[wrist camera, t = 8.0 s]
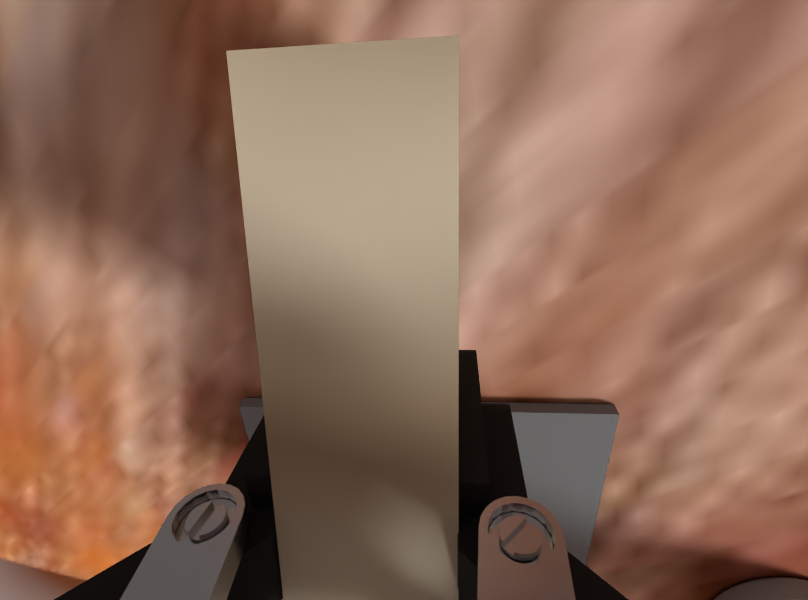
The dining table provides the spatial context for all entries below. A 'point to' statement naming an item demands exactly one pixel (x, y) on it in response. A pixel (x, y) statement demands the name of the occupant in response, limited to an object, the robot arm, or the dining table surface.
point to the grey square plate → (547, 459)
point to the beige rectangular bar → (356, 308)
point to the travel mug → (768, 590)
